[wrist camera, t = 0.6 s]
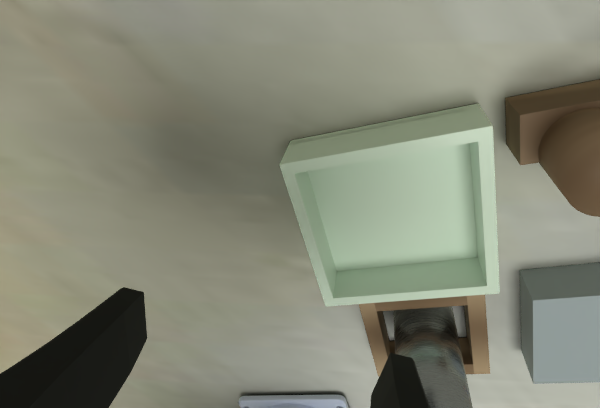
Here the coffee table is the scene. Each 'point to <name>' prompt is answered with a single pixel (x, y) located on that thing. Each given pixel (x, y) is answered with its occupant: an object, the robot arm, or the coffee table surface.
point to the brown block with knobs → (560, 139)
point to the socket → (474, 307)
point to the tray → (399, 208)
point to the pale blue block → (561, 323)
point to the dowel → (434, 354)
